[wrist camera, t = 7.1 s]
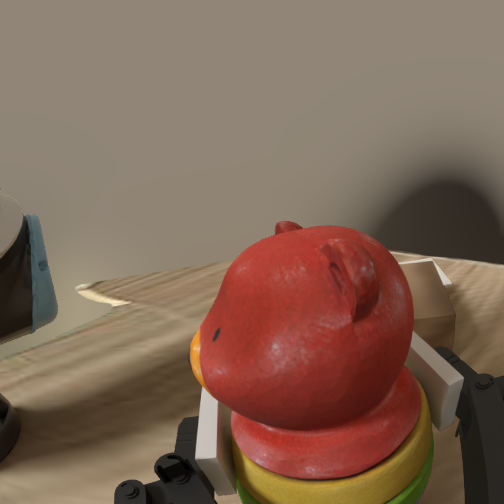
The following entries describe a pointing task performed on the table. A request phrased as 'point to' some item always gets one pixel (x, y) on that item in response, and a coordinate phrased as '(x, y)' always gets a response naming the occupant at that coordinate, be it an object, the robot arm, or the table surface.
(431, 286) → the tower base
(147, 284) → the table surface
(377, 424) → the stacking bear
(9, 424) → the robot arm
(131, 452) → the table surface
